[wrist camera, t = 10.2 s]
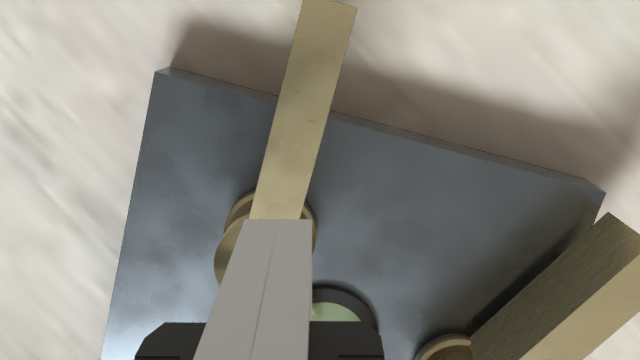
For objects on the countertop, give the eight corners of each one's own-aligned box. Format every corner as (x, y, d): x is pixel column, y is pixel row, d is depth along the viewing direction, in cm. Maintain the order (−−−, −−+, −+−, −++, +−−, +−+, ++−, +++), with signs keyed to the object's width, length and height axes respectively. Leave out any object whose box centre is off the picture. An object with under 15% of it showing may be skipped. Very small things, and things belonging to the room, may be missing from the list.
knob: (303, 281, 30) (299, 325, 26) (217, 259, 29) (199, 300, 25) (379, 16, 26) (388, 16, 22) (282, -11, 26) (273, -16, 22)
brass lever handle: (453, 422, 32) (472, 483, 28) (394, 373, 31) (403, 428, 27) (648, 251, 29) (701, 291, 25) (588, 193, 28) (632, 224, 24)
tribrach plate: (98, 428, 36) (74, 469, 32) (169, 66, 30) (149, 73, 26) (450, 510, 37) (461, 558, 33) (584, 178, 31) (614, 198, 28)
